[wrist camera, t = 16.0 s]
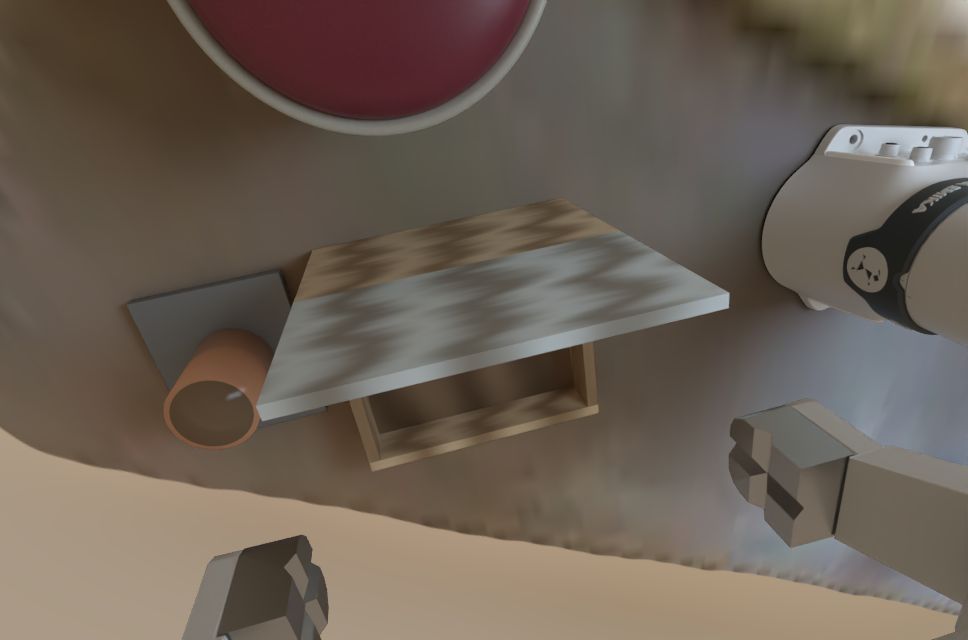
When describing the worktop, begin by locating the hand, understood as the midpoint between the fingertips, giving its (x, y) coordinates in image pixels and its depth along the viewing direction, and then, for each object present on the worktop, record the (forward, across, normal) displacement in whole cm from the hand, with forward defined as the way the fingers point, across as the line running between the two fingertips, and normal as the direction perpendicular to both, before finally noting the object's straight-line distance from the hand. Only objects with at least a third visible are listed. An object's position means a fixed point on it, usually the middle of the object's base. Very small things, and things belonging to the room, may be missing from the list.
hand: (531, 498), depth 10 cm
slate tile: (+37, +18, +12) cm, 43 cm away
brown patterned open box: (+37, -2, +14) cm, 40 cm away
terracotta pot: (+36, +18, +12) cm, 42 cm away
